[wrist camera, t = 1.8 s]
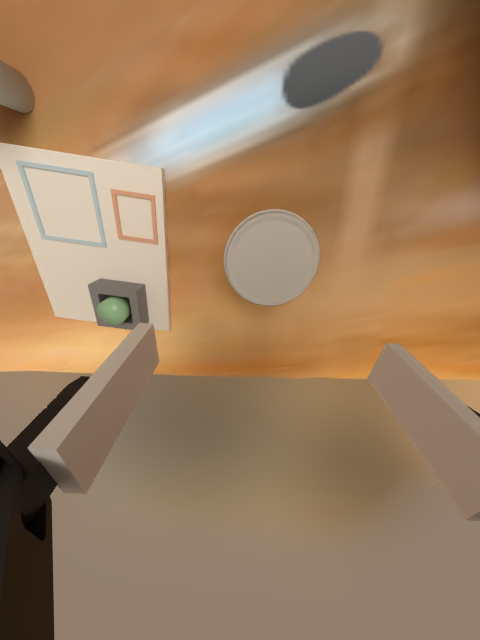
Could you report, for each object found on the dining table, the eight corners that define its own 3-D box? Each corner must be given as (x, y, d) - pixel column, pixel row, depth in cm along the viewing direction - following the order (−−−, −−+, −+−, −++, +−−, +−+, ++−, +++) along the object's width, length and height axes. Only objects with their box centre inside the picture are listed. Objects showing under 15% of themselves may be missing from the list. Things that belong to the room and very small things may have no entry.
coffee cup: (231, 273, 32) (223, 307, 22) (231, 205, 27) (221, 207, 17) (290, 275, 32) (311, 310, 22) (300, 207, 27) (333, 210, 17)
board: (-1, 143, 25) (-41, 133, 21) (164, 169, 26) (151, 164, 22) (60, 314, 37) (40, 325, 33) (171, 328, 38) (163, 340, 34)
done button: (105, 292, 31) (93, 299, 29) (131, 295, 32) (122, 303, 29) (110, 314, 33) (99, 323, 31) (134, 318, 34) (126, 326, 31)
